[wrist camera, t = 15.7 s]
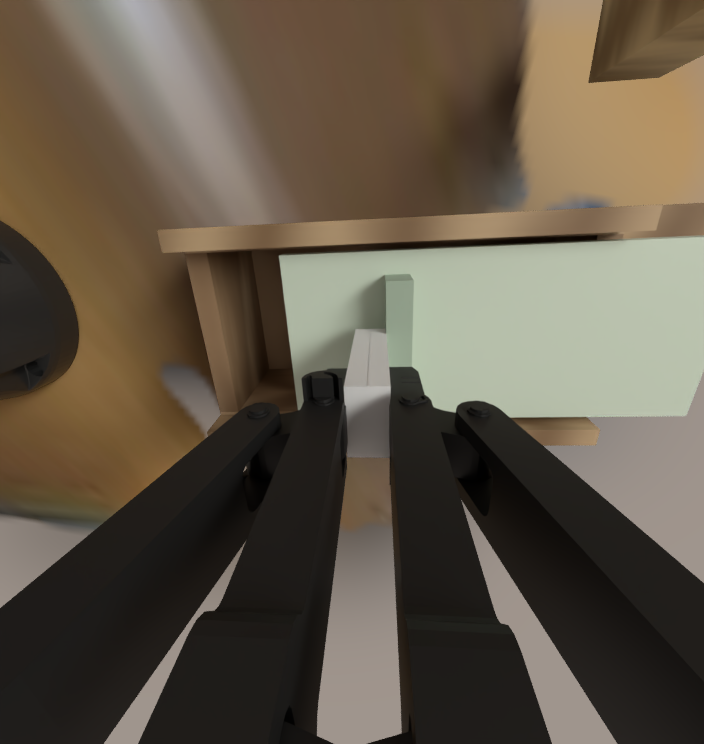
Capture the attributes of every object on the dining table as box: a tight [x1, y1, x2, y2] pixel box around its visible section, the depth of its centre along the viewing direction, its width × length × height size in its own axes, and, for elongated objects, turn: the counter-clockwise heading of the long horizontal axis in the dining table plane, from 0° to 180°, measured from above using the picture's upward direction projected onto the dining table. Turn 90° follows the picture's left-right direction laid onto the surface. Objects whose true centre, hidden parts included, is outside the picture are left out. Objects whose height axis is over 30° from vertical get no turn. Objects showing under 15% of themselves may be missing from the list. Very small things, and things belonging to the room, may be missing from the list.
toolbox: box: [157, 203, 704, 445], centre depth 22 cm, size 29×12×10 cm, turn 92°
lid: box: [279, 235, 704, 418], centre depth 17 cm, size 21×9×3 cm, turn 92°
